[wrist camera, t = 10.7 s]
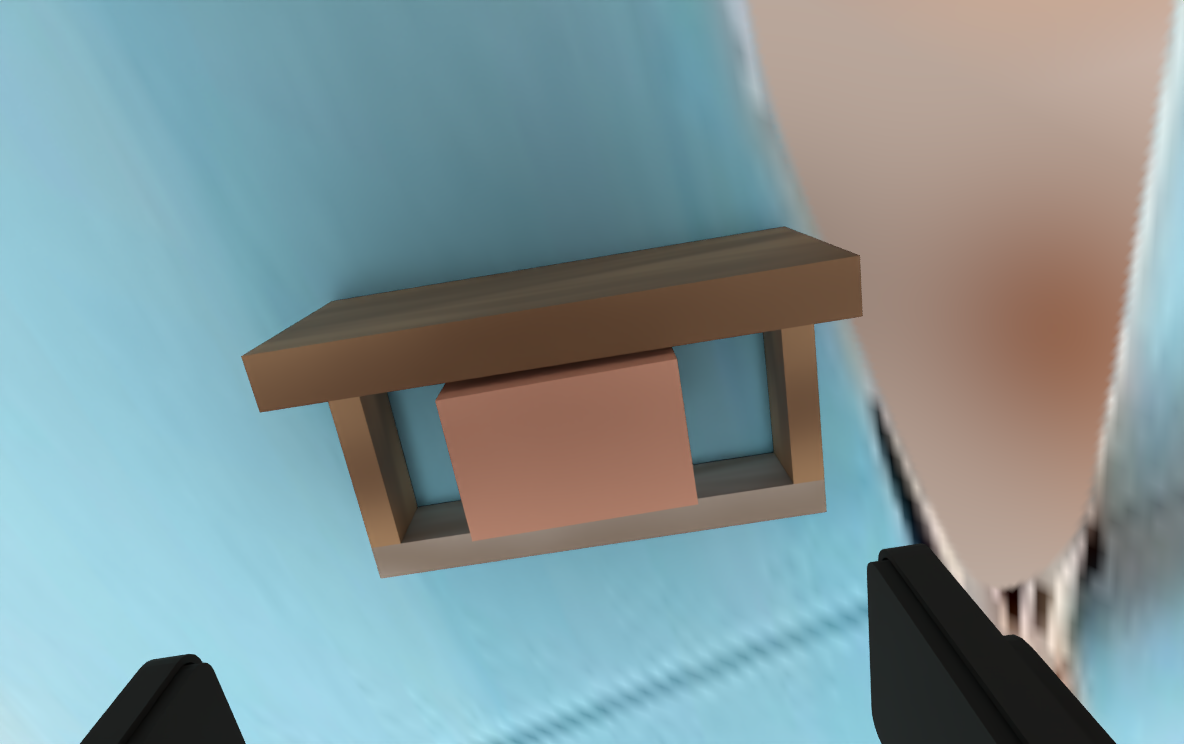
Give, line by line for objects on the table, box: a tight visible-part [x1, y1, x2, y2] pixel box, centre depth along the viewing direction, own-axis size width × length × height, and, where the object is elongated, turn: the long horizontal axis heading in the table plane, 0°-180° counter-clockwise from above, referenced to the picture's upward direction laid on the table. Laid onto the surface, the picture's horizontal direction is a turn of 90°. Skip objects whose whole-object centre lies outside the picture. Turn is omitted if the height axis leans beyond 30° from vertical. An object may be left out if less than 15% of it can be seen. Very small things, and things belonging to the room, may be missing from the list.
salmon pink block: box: [435, 347, 698, 541], centre depth 21 cm, size 5×6×7 cm
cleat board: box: [241, 227, 863, 578], centre depth 21 cm, size 9×15×6 cm, turn 99°
